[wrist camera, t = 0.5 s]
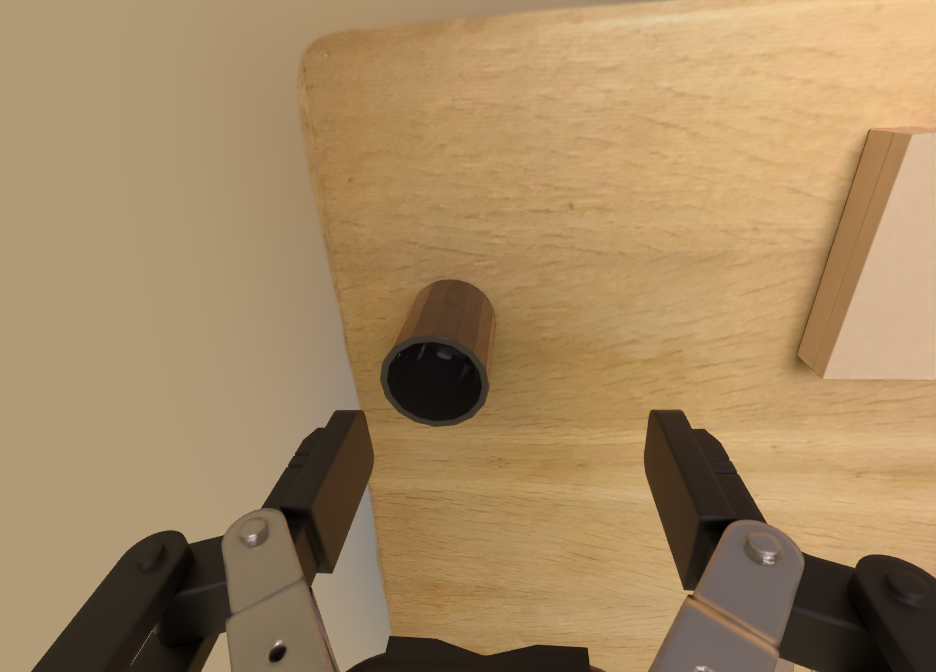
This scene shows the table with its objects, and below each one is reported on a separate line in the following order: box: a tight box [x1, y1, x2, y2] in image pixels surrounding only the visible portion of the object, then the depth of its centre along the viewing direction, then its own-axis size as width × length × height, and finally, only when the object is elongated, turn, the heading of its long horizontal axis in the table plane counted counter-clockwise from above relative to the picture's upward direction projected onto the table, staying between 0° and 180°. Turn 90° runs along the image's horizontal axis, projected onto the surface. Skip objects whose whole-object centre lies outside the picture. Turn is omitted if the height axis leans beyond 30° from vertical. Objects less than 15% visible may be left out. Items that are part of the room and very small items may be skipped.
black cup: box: [380, 280, 496, 427], centre depth 29 cm, size 6×6×8 cm
